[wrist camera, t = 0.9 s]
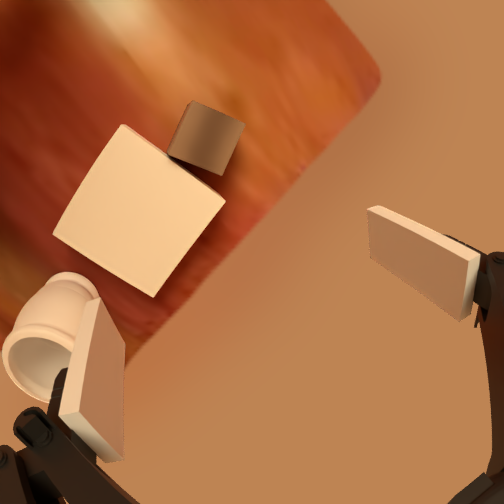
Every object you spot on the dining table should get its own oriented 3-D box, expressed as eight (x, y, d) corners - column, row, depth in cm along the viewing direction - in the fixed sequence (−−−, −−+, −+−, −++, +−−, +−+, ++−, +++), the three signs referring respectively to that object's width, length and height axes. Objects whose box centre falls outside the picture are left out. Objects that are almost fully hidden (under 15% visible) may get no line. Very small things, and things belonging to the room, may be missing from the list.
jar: (92, 254, 38) (66, 319, 24) (118, 321, 42) (111, 398, 29) (26, 274, 36) (-17, 338, 22) (55, 336, 40) (32, 410, 27)
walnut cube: (166, 150, 36) (168, 154, 31) (187, 104, 35) (192, 100, 29) (212, 168, 38) (222, 176, 33) (232, 124, 37) (245, 123, 32)
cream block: (63, 221, 35) (52, 234, 31) (126, 124, 33) (121, 124, 29) (152, 279, 41) (153, 297, 37) (217, 192, 40) (225, 201, 35)
